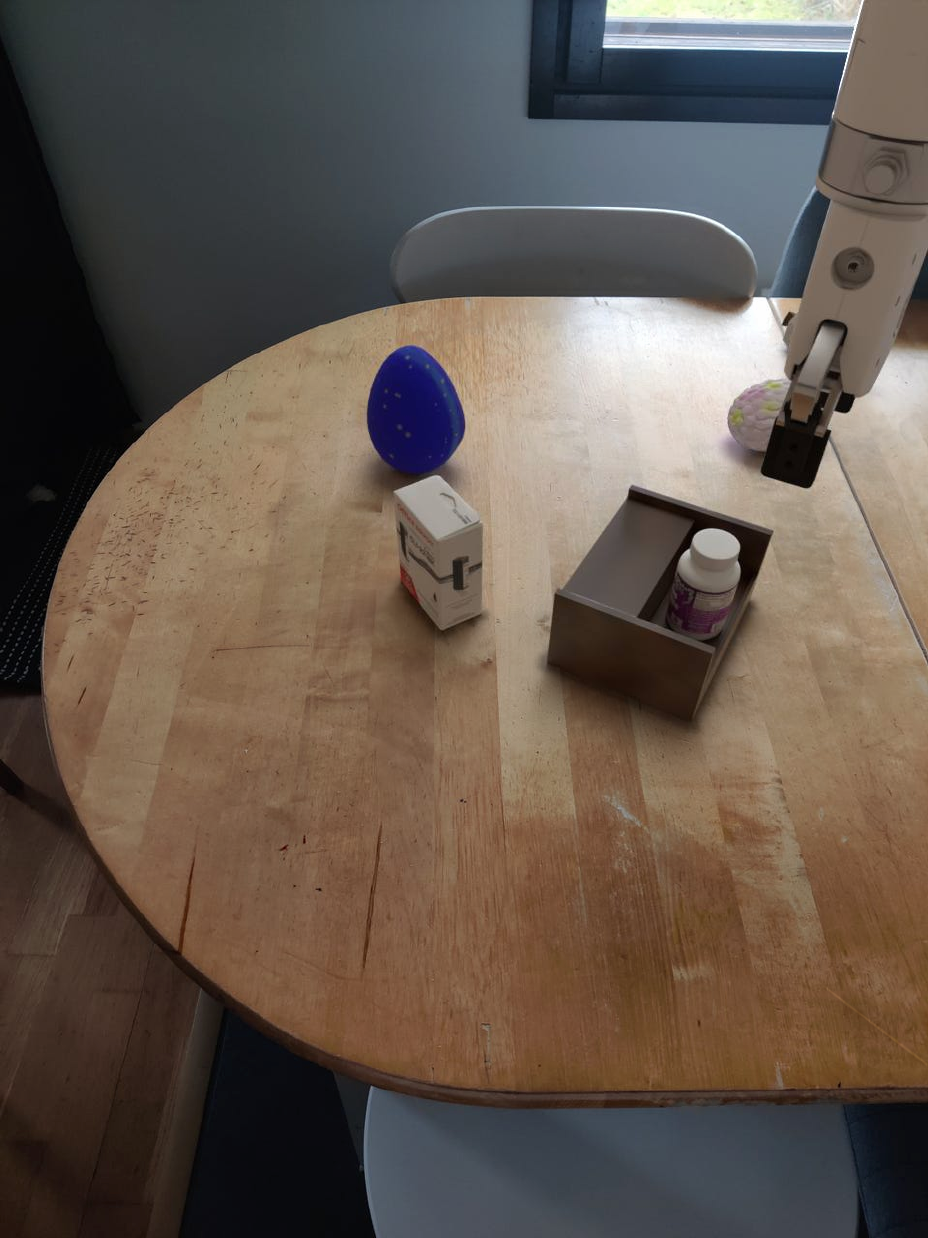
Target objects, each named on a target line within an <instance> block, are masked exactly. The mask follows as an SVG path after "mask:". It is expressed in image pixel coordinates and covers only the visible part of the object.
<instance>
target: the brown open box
mask: <svg viewBox="0 0 928 1238" xmlns="http://www.w3.org/2000/svg"><path fill="white" fill-rule="evenodd" d="M705 529H719V530H723V531H726V532H728V533H730V534H731V535H733V536H734V537H735V538H736V539H737V540H738V542H739V544H740V551H739V555H738V559H737V561H738V563H739V566H740V572H741V573H740V579H739V582H738V585H737V588H736V591H735V594H734V597H733V600H732V603H731V606H730V609H729V612H728V615H727V618H726V621H725V624H724V627H723V629H722V631H721V632H720V633H719V634H718V635H717V636H715V637H714V638H712V639H707V640H694V639H691V638H689V637H686V636H684V635H681V634H678V633H676V632H675V631H674V630H673V629H672V628H671V627H670V626H669V624H668V622H667V618H666V613H667V608H668V604H669V600H670V595H671V591H672V587H673V583H674V579H675V574H676V570H677V566H678V563H679V560H680V558H681V556H682V555H683V554H684V552H686V551H687V550H688V549H690V546H691V543H692V540H693V537H694V536H695V534H696V533H698V532H699V531H702V530H705ZM773 534H774V530H773V529H771V528H768V527H764V526H761V525H758V524H755V523H751V522H749V521H745V520H742V519H739V518H736V517H734V516H730V515H727V514H723V513H721V512H717V511H715V510H711V509H708V508H706V507H703V506H699V505H697V504H693V503H690V502H687V501H684V500H681V499H678V498H675V497H672V496H668V495H665V494H662V493H660V492H656V491H653V490H650V489H647V488H643V487H640V486H639V485H638V486H637V485H635V484H631V485H630V487H629V488H628V491H627V497H626V498H625V500H624V501H623V502H622V504H621V505H620V506H619V509H618V510H617V511H616V512H615V514H614V515H613V517H612V518H611V519H610V521H609V523H608V524H607V525H606V527H605V528H604V530H603V531H602V533H601V534H600V535H599V536H598V538H597V540H596V541H595V543H594V544H593V545H592V547H591V548H590V549H589V551H588V552H587V554H586V555H585V557H584V558H583V559H582V561H581V562H580V563H579V565H578V566H577V568H576V569H575V571H574V572H573V574H571V576H570V578H569V579H568V581H567V582H566V583H565V585H564V586H563V588H560V587H558V588H556V590H555V592H554V595H553V602H552V603H553V605H552V613H551V623H550V633H549V639H548V640H549V641H548V651H547V659H546V663H547V664H550V665H552V666H554V667H557V668H559V669H562V670H563V671H564V670H565V671H567V672H569V673H571V674H574V675H577V676H579V677H581V678H584V679H586V680H588V681H590V682H593V683H595V684H599V685H600V686H602V687H605V688H608V689H609V690H610V689H611V690H612V691H615V692H618V693H620V694H622V695H624V696H627V697H630V698H631V699H632V698H633V699H634V700H637V701H639V702H641V703H644V704H646V705H649V706H650V707H654V708H656V709H658V710H661V711H662V712H666V713H668V714H670V715H673V716H676V717H678V718H680V719H682V720H685V721H687V722H690V723H692V721H693V720H694V717H695V716H696V714H697V712H698V709H699V707H700V706H701V704H702V703H701V702H702V701H703V699H704V697H705V694H706V692H707V690H708V688H709V687H710V684H711V682H712V681H713V678H714V675H715V674H716V672H717V670H718V667H719V666H720V663H721V661H722V659H723V657H724V655H725V653H726V651H727V649H728V646H729V644H730V642H731V641H732V638H733V637H734V634H735V632H736V630H737V628H738V626H739V624H740V622H741V619H742V617H743V615H744V614H745V612H746V609H747V607H748V605H749V603H750V601H751V598H752V595H753V592H754V589H755V586H756V583H757V581H758V578H759V575H760V572H761V569H762V566H763V563H764V560H765V557H766V554H767V551H768V548H769V545H770V543H771V540H772V536H773Z"/></svg>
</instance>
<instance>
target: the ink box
mask: <svg viewBox="0 0 928 1238" xmlns="http://www.w3.org/2000/svg"><path fill="white" fill-rule="evenodd" d="M393 502H394V503H393V504H394V515H395V526H396V538H397V549H398V560H399V561H398V562H399V574H400V582H401V583H402V584H403V585H404V587H405V588H406V589H407V590H408V592H409V593H410V594H411V596H413V598H414V599H415V600H416V601H417V603H418V604H419V605H420V607H421V608H422V609H423V610H424V611H425V613H426V614H427V616H428V617H429V619H431V620H432V622H433V623H434V624H435V625H436V627H437V628H438V629H439V630H440V631H445V630H446V629H449V628H452V627H454V626H456V625H458V624H461V623H463V622H465V621H467V620H470V619H472V618H475V617H477V616H479V615H482V613H483V562H484V561H483V556H484V555H483V553H484V552H483V550H484V547H483V546H484V523H483V521H482V520H481V516H480V515H479V514H478V513H477V512H476V511H475V510H474V509H473V508H472V507H471V506H470V505H469V503H467V502H466V501H465V500H464V499H463V497H462V496H460V495H459V494H458V493H457V492H456V491H455V490H454V489H453V488H452V486H451V485H450V484H449V483H448V482H447V481H445V480H444V478H443V477H442V476H440V475H432V476H428V477H426V478H424V479H421V480H419V481H416V482H414V483H411V484H409V485H405V486H403V487H401V488H398V489H395V490H394V491H393Z"/></svg>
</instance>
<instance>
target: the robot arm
mask: <svg viewBox="0 0 928 1238" xmlns="http://www.w3.org/2000/svg"><path fill="white" fill-rule="evenodd" d="M842 73H843V74H842V76H841V80H840V84H839V88H838V91H837V96H836V101H835V104H834V108H833V112H832V114H831V117H830V121H829V125H828V128H827V133H826V136H825V140H824V144H823V148H822V152H821V156H820V159H819V163H818V168H817V170H816V174H815V178H814V185H815V189H816V190H817V191H818V192H819V193H820V194H822V195H823V196H824V197H826V198H828V199H829V200H830V202H829V205H828V209H827V212H826V214H825V217H824V221H823V225H822V228H821V232H820V235H819V238H818V240H817V243H816V244H817V245H816V248H815V251H814V255H813V258H812V262H811V265H810V268H809V273H808V276H807V279H806V282H805V286H804V289H803V292H802V297H801V300H800V303H799V307H798V310H797V312H798V314H797V313H796V314H797V318H796V321H795V325H794V329H793V333H792V337H791V341H790V345H789V348H788V350H787V352H786V353H787V354H786V359H785V363H784V367H783V372H784V375H785V376H786V378H788V379H789V380H790V381H792V382H791V384H790V387H789V389H788V392H787V394H786V397H785V399H784V402H783V405H782V407H781V410H780V412H779V415H778V416H777V417H776V419H775V421H774V425H773V428H772V432H771V435H770V439H769V442H768V446H767V450H766V452H765V453H764V457H763V460H762V463H761V467H760V474H761V475H762V476H763V477H765V478H768V479H772V480H776V481H779V482H781V483H785V484H789V485H792V486H795V487H798V488H802V489H810V488H812V486H813V484H814V482H815V480H816V477H817V475H818V472H819V469H820V466H821V463H822V461H823V457H824V454H825V451H826V448H827V446H828V443H829V440H830V437H831V434H832V430H831V429H829V426H830V422H831V419H832V417H833V415H834V412H836V413H839V414H849V412H850V411H851V410H852V408H853V406H854V402H855V400H856V399H860V398H862V397H864V396H865V395H868V394H869V393H870V392H871V391H872V389H873V387H874V385H875V383H876V381H877V379H878V377H879V375H880V373H881V371H882V370H883V367H884V365H885V364H886V361H887V359H888V357H889V354H890V353H891V350H892V348H893V346H894V343H895V342H896V339H897V336H898V334H899V331H900V329H901V324H902V321H903V319H904V315H905V314H906V310H907V308H908V305H909V301H910V299H911V297H912V293H913V291H914V288H915V286H916V283H917V280H918V277H919V275H920V272H921V270H922V266H923V263H924V261H925V259H926V255H927V253H928V0H861V4H860V7H859V11H858V15H857V18H856V23H855V26H854V30H853V33H852V38H851V41H850V46H849V49H848V53H847V57H846V61H845V65H844V69H843V71H842ZM821 408H823V410H821Z"/></svg>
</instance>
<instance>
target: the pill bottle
mask: <svg viewBox="0 0 928 1238" xmlns="http://www.w3.org/2000/svg"><path fill="white" fill-rule="evenodd" d="M739 551H740V544H739V542H738V540H737V539H736V538H735V537H734V536H733V535H731V534H730V533H728V532H726V531H723V530H719V529H705V530H702V531H699V532H698V533H696V534H695V536H694V537H693V540H692V543H691V546H690V549H688V550H687V551H686V552H684V554H683V555H682V556H681V558H680V560H679V563H678V566H677V570H676V574H675V579H674V583H673V587H672V591H671V595H670V600H669V604H668V608H667V613H666V618H667V622H668V624H669V626H670V627H671V628H672V629H673V630H674V631H675V632H676V633H678V634H681V635H684V636H686V637H689V638H691V639H694V640H707V639H712V638H714V637H715V636H717V635H718V634H719V633H720V632H721V631H722V629H723V627H724V624H725V621H726V618H727V615H728V612H729V609H730V606H731V603H732V600H733V597H734V594H735V591H736V588H737V585H738V582H739V579H740V573H741V572H740V566H739V563H738V561H737V559H738V555H739Z"/></svg>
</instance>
